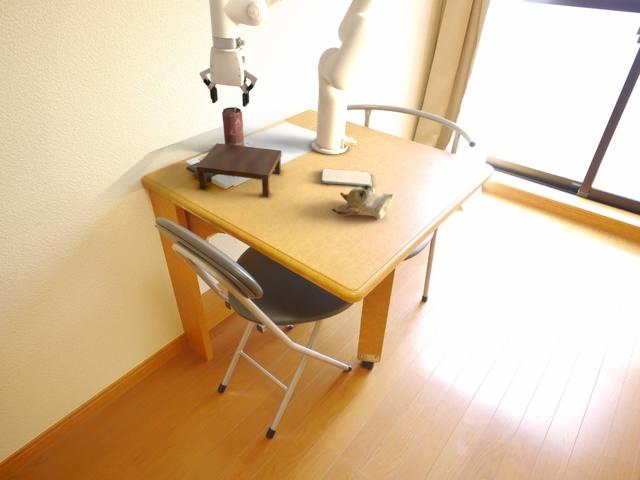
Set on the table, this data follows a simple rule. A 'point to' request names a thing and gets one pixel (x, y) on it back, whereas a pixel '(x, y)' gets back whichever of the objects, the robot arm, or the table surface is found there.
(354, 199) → the ceramic sculpture
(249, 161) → the side table
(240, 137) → the can
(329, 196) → the table surface
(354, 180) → the smartphone
